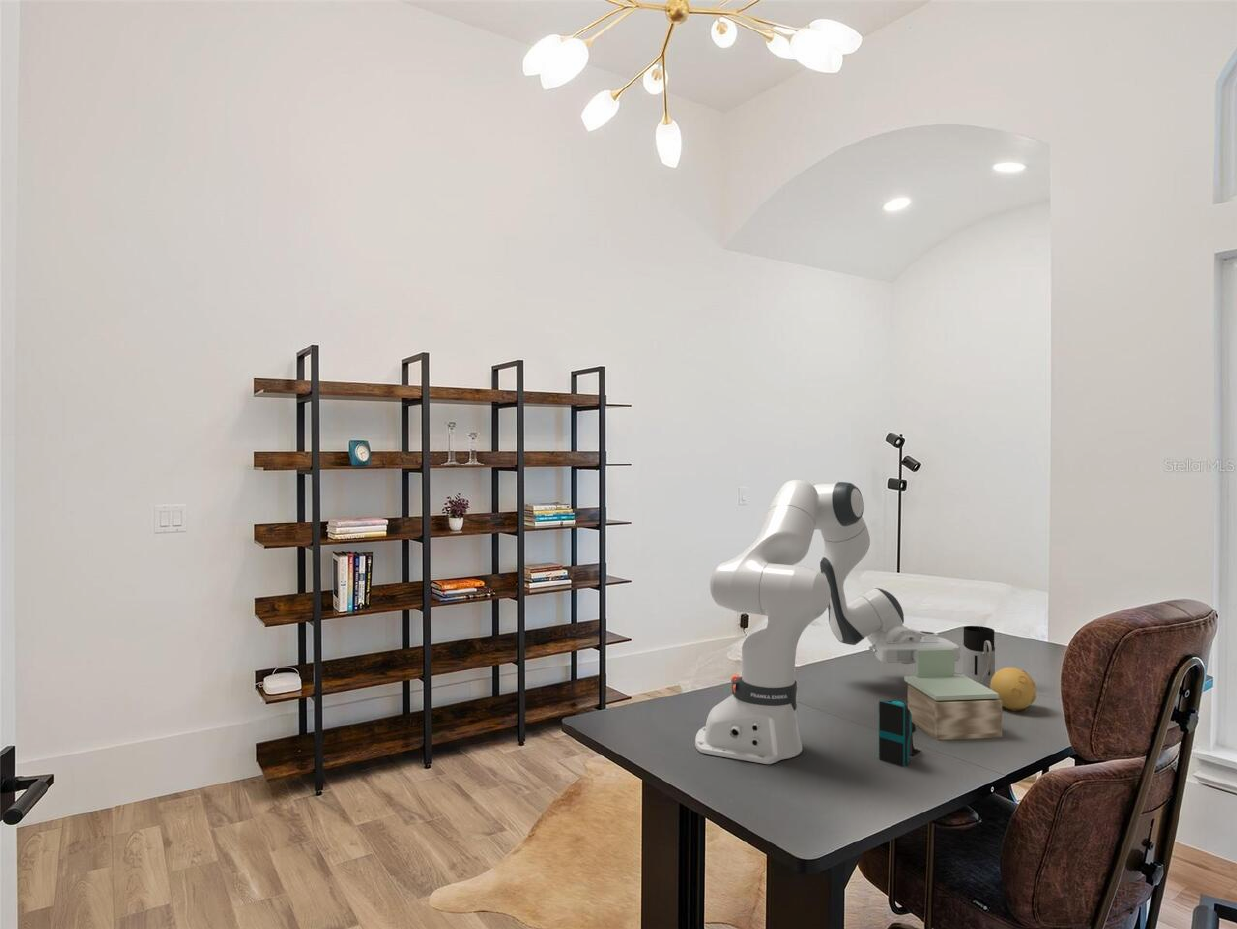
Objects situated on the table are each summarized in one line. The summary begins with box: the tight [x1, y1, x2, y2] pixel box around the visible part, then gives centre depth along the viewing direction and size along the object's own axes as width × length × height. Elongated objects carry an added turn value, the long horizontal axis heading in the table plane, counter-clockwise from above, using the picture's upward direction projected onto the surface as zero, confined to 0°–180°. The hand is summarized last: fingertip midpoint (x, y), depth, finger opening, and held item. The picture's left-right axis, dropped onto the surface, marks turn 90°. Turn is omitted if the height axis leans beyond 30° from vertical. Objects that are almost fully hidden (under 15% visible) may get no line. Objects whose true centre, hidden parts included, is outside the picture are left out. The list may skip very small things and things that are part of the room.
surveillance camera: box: [878, 699, 921, 768], centre depth 151 cm, size 6×12×10 cm
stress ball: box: [990, 666, 1037, 712], centre depth 179 cm, size 10×10×10 cm
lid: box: [903, 648, 999, 701], centre depth 168 cm, size 15×14×7 cm
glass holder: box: [962, 625, 996, 689], centre depth 195 cm, size 9×14×15 cm, turn 170°
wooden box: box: [907, 683, 1003, 741], centre depth 167 cm, size 15×13×8 cm
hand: (933, 660), depth 175 cm, fingers closed
